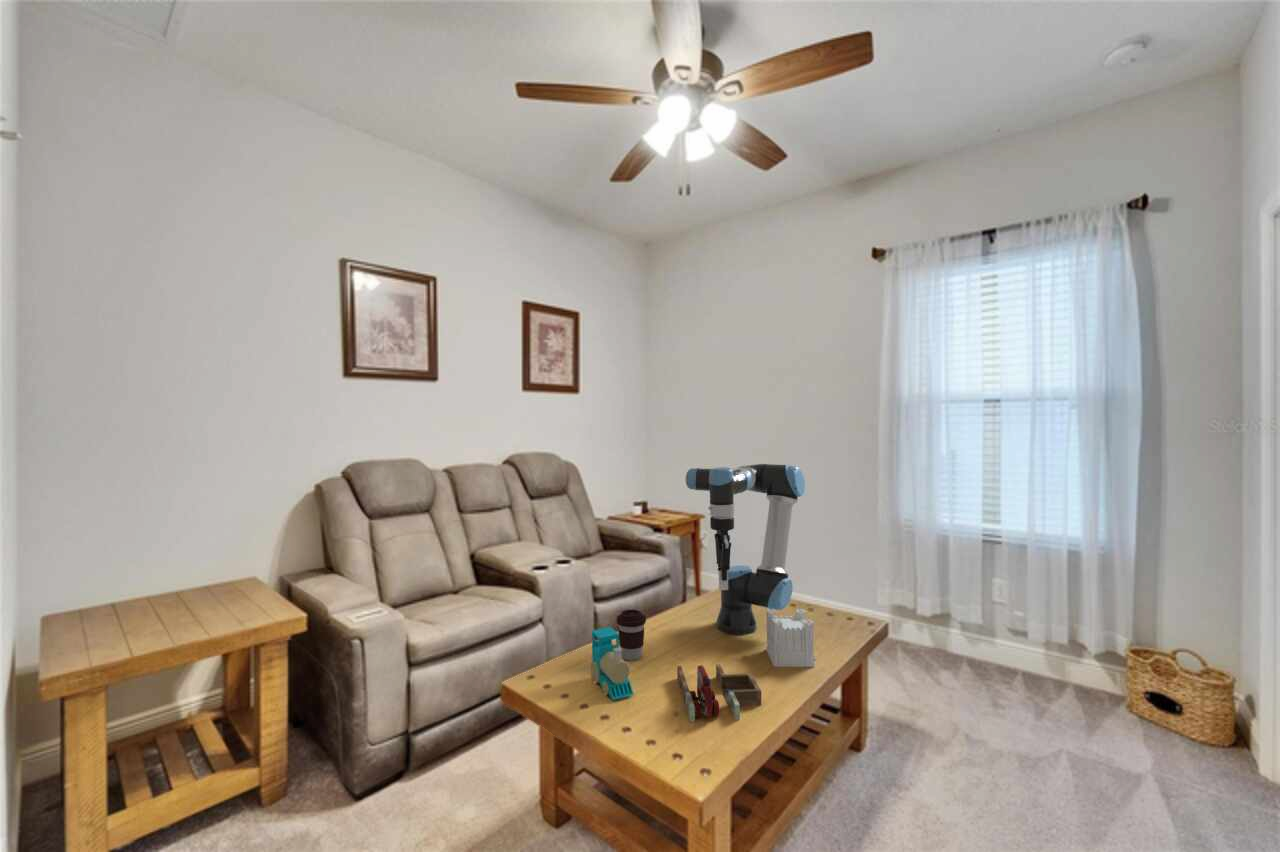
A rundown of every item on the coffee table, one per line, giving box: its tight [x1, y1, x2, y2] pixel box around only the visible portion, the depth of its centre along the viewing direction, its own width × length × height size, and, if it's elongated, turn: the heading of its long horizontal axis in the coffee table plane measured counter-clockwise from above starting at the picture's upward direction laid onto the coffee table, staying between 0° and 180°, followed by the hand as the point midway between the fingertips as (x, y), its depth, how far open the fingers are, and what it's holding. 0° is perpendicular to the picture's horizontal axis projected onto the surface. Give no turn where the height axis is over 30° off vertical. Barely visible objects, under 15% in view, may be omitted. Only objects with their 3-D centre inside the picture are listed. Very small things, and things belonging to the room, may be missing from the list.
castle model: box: [765, 608, 817, 668], centre depth 182 cm, size 13×15×14 cm
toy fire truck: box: [689, 664, 720, 718], centre depth 150 cm, size 7×12×10 cm, turn 5°
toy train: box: [590, 626, 634, 701], centre depth 163 cm, size 8×17×15 cm, turn 26°
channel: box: [676, 664, 741, 723], centre depth 157 cm, size 24×13×4 cm, turn 4°
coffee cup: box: [616, 609, 647, 662], centre depth 184 cm, size 10×10×15 cm
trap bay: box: [721, 673, 762, 707], centre depth 158 cm, size 10×9×4 cm
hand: (723, 589), depth 174 cm, fingers closed
